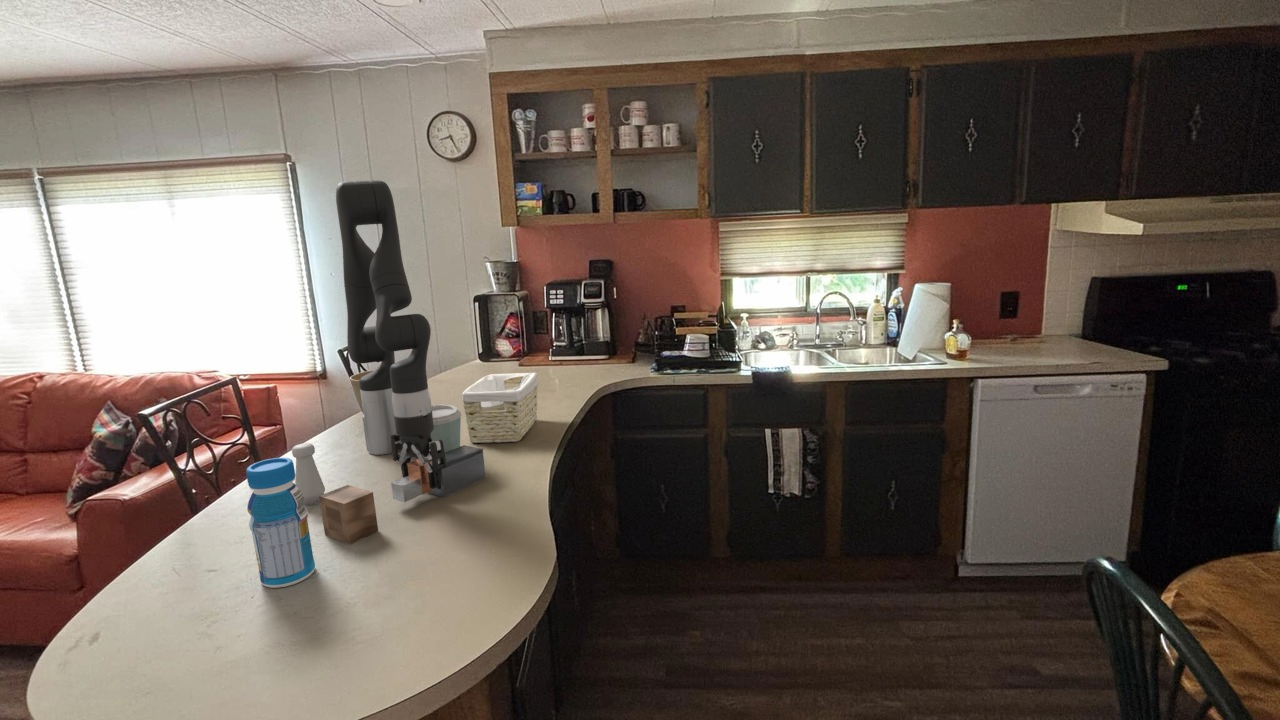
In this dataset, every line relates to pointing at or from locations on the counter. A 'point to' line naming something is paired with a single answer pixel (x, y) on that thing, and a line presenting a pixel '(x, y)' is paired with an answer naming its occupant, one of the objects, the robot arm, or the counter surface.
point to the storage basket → (501, 407)
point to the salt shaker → (307, 474)
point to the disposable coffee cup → (446, 426)
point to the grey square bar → (412, 482)
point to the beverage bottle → (279, 524)
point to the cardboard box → (348, 513)
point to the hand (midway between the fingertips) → (421, 484)
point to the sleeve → (460, 470)
